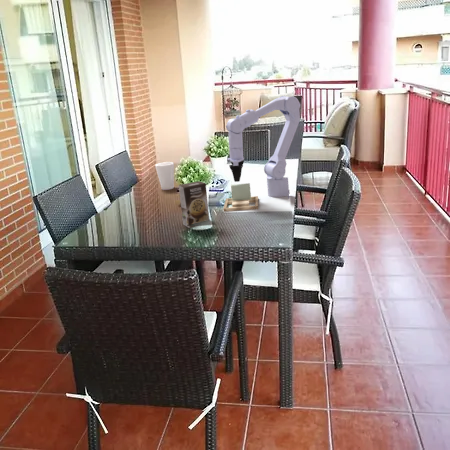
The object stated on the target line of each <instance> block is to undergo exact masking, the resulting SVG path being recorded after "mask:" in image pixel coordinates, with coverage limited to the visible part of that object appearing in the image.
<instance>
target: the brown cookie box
mask: <svg viewBox="0 0 450 450" xmlns="http://www.w3.org/2000/svg"><path fill="white" fill-rule="evenodd" d="M178 191H179V193H178V194H179V199H180V208H181V217H182V218H181V219H182V224H183V226H185V227H187V228H188V229H191V228H195V227H199V226H201V224H198V223H203V222H206V221H210V211H209V204H208V195H207V183H206V182H203V181H193V182H189V183H183V184H178ZM193 224H194V225H193ZM195 224H196V225H195Z"/></svg>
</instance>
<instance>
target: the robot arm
mask: <svg viewBox="0 0 450 450" xmlns="http://www.w3.org/2000/svg"><path fill="white" fill-rule="evenodd" d="M301 106H302V105H301V102H300V101H299V99H298V98H297V97H296V96H294V95H292V96H287V95H281V96H279V97H276V98H274V99H273V100H271V101H269V102H267V103H266V104H264V105H262V106H260V107H259V108H257V109H256V110H255V109H249V108H248V109H246V110H245V112H244V113H242V114H240V115H239V114H237V115H236V116H235V118H230V119H228V121H227V122H226V125H225V129H226V131H228V147H229V157H228V158H226V160H227V161H230V164H229V169H230V170H231V173H232V176H233V181H234V182H235V183H236V182H237V183H238V182H240V181H241V176H242V169H243V167H244V162H245V157H244V143H243V142H244V141H243V140H244V139H243V131H244V130H245V129H246V128H249V127H250V126H252V125H254V124H256V123H258V122H259V119H260V118H261V117H263V116H265V115H268V114H269V113H272V112H273V111H280V112H281V113H282V115H283V116H284V118H285V123H284V126H283V128H282V132H281V134H280V136H279V139H278V141H277V144H276V145H277V146H276V147H275V149H274V153H273V155H272V156H270V157H269V159H268V161H267V162H266V163H265V165H264V166H263V167H264V168H263V171H264V173H265V175H266V183H267V186H266V187H267V196H268V197H270V198H279V197H287V199H290V193H291V192H290V189H289V188H290V187H289V177H288V176H287V177H285V175H286V167H287V161H286V158H287V155H288V152H289V150H290V147H291V144H292V142H293V140H294V137H295V135H296V131H297V129H298V127H299V123H300V121H301V117H300V116H301V114H300V112H301V111H300V108H301Z"/></svg>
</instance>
